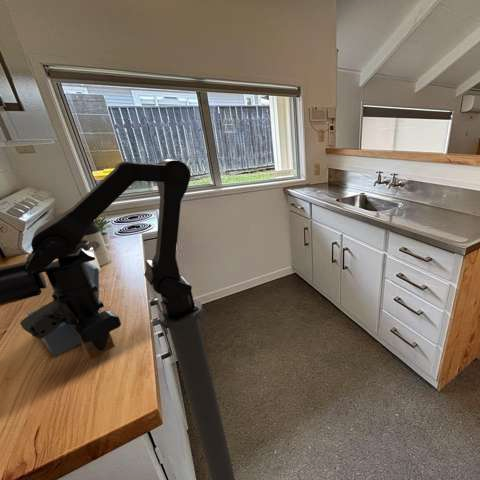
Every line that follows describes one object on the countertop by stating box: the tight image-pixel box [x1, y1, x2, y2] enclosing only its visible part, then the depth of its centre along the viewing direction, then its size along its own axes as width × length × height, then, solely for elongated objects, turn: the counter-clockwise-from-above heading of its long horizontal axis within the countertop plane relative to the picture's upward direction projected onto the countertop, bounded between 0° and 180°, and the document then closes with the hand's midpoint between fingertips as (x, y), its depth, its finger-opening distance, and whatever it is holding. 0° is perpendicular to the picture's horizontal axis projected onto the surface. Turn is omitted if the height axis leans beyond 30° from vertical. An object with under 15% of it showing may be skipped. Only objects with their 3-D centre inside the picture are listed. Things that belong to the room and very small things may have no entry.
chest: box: [26, 309, 81, 357], centre depth 63 cm, size 10×14×6 cm
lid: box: [85, 262, 100, 300], centre depth 65 cm, size 10×14×1 cm
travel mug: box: [82, 220, 111, 267], centre depth 99 cm, size 8×8×18 cm
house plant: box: [95, 213, 116, 249], centre depth 115 cm, size 14×14×16 cm
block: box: [77, 332, 116, 360], centre depth 57 cm, size 4×4×4 cm
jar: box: [70, 240, 102, 272], centre depth 92 cm, size 9×8×12 cm
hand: (98, 345), depth 58 cm, fingers closed on block, 4 cm apart
